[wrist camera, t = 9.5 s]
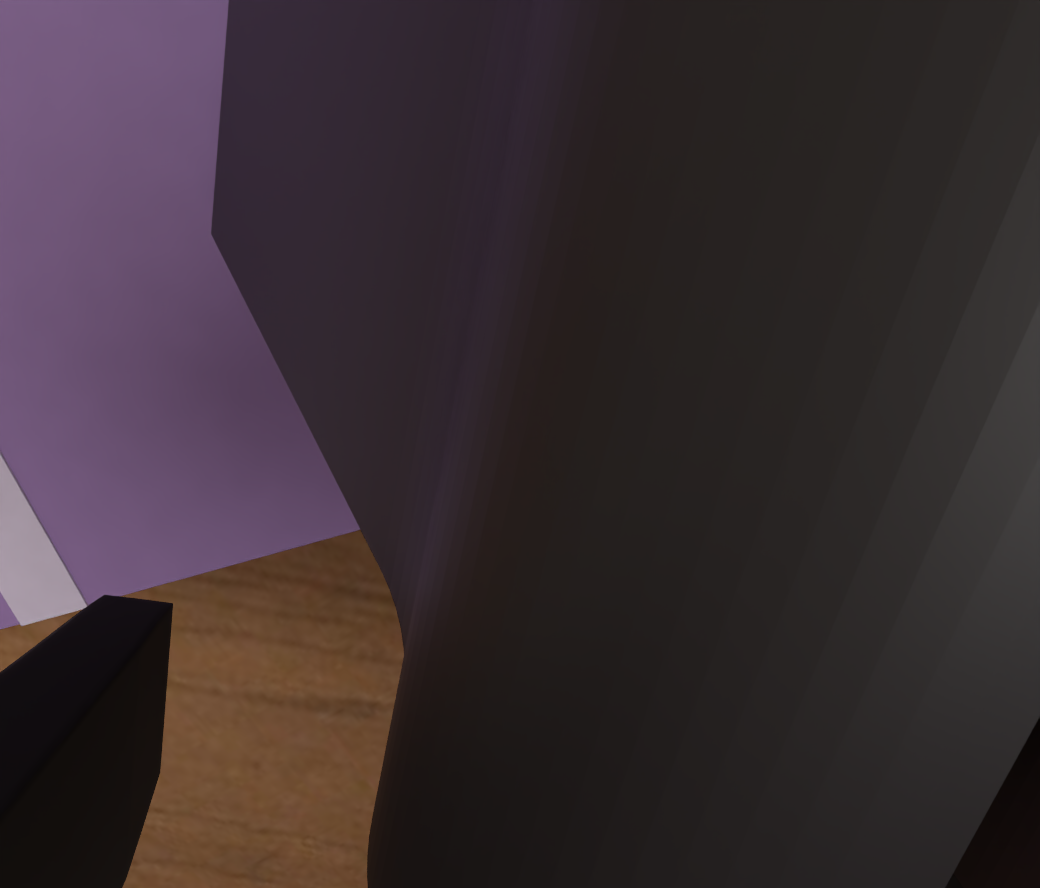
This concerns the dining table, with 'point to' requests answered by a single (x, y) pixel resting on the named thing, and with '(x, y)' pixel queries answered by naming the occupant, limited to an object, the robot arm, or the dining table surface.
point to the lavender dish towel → (130, 321)
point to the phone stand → (670, 420)
